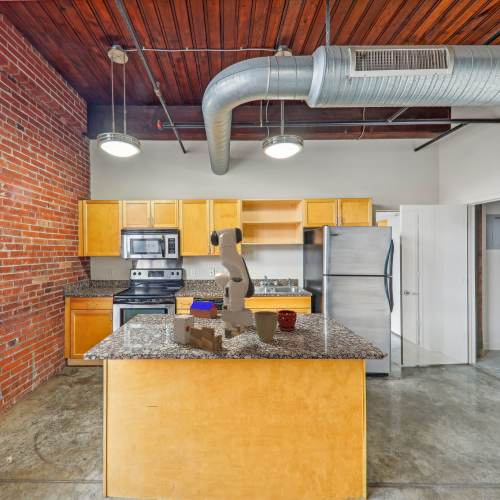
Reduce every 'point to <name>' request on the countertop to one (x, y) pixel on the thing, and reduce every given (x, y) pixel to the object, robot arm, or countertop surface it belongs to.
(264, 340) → the plant pot
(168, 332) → the countertop surface
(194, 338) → the wood grain block
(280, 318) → the plant pot
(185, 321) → the supplement box
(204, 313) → the house
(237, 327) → the rail
